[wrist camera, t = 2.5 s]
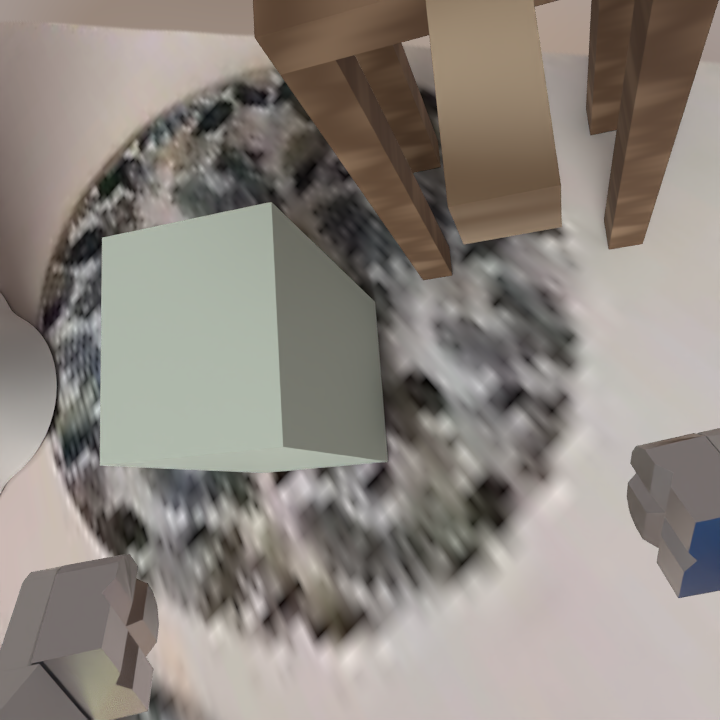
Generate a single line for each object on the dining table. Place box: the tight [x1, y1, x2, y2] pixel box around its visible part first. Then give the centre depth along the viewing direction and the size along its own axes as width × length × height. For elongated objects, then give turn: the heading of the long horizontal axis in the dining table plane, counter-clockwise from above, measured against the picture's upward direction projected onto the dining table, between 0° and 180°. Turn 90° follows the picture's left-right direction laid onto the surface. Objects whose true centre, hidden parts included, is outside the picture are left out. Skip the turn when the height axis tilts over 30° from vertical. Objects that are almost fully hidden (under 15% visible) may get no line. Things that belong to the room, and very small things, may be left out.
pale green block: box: [100, 202, 388, 473], centre depth 38 cm, size 9×11×17 cm
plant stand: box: [253, 0, 719, 280], centre depth 32 cm, size 14×10×26 cm
